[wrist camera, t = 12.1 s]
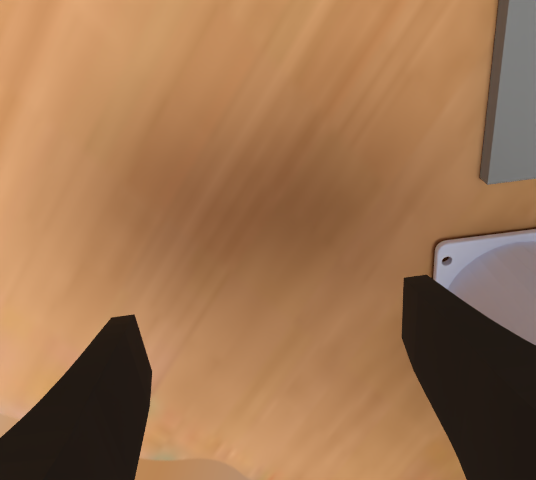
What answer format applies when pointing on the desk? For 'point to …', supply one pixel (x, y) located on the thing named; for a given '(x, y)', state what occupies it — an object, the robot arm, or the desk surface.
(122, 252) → the desk surface
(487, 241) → the robot arm
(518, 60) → the mat
